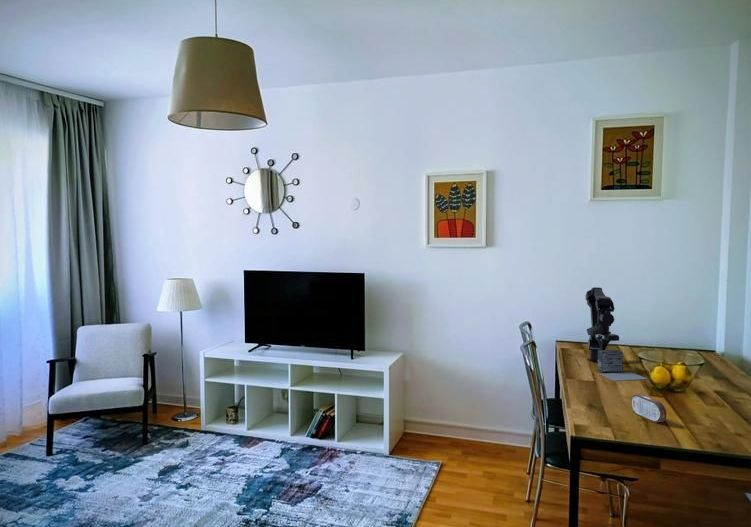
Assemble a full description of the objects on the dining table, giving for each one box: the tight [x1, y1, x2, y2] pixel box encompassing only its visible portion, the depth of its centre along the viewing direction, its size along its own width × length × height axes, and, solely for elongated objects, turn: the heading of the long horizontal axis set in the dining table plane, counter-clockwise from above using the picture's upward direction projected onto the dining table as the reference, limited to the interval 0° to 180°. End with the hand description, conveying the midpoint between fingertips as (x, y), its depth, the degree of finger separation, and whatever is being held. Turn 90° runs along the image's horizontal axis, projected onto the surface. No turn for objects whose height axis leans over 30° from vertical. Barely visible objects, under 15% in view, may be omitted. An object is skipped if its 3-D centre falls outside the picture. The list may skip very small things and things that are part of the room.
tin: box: [630, 393, 667, 423], centre depth 194 cm, size 15×3×8 cm, turn 17°
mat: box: [599, 371, 648, 382], centre depth 251 cm, size 12×18×1 cm, turn 101°
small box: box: [597, 349, 624, 373], centre depth 260 cm, size 11×6×10 cm, turn 84°
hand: (602, 351), depth 266 cm, fingers closed
